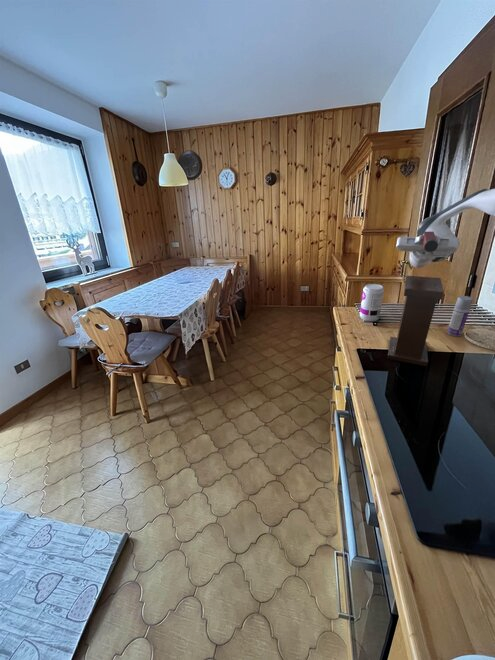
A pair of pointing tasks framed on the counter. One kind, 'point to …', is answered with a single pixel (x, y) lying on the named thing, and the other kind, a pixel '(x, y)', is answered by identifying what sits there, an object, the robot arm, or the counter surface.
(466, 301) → the container
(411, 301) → the shelf stand
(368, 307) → the supplement can
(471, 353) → the counter surface
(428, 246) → the maroon rod
